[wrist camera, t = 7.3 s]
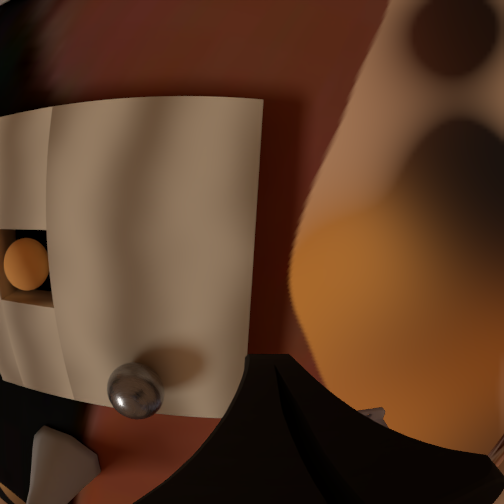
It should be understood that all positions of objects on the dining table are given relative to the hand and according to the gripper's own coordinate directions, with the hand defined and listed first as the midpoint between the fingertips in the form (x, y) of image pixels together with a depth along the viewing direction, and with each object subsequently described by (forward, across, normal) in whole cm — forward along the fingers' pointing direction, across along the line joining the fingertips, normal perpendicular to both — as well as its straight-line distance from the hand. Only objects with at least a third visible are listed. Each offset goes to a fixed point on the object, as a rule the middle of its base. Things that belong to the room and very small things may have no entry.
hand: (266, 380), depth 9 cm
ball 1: (+8, +14, -1) cm, 16 cm away
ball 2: (+5, +6, +5) cm, 9 cm away
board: (+9, +9, -1) cm, 13 cm away
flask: (+10, +16, +18) cm, 26 cm away
